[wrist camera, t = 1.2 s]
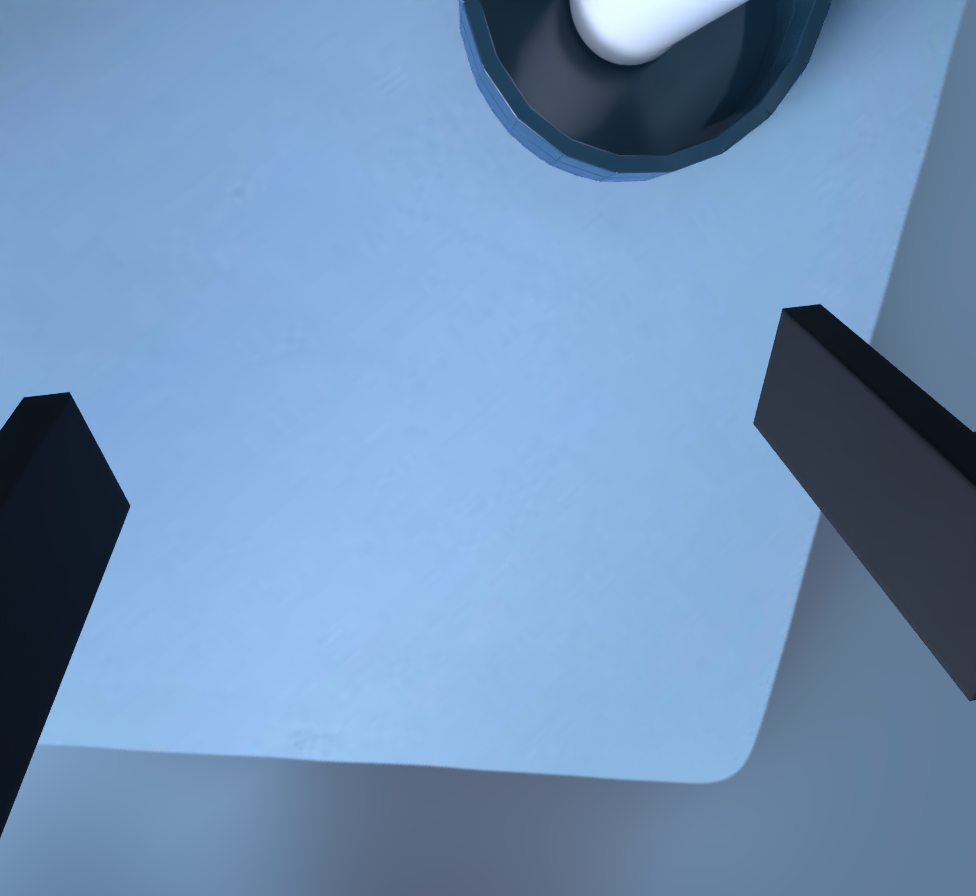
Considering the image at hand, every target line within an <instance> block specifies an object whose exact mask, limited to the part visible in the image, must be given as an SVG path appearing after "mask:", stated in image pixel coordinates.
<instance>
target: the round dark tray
mask: <svg viewBox="0 0 976 896" xmlns="http://www.w3.org/2000/svg"><path fill="white" fill-rule="evenodd" d="M830 2H831V0H750V1H748V2H746V3H745V4H743V5H741V6H739V7H738V8H736V9H734V10H732V11H731V12H729V13H727V14H725V15H724V16H722V17H720V18H718V19H717V20H715V21H713V22H711V23H710V24H708V25H706V26H705V27H703V28H701V29H700V30H698V31H696V32H694V33H693V34H691V35H689V36H688V37H686V38H684V39H683V40H681V41H680V42H678V43H677V44H676V45H674V46H673V47H672V48H671V49H670V50H668V51H667V52H666V53H665V54H663V55H662V56H660V57H658V58H656V59H654V60H652V61H650V62H647V63H644V64H639V65H630V66H628V65H619V64H615V63H611V62H609V61H606V60H604V59H602V58H601V57H599V56H598V55H596V54H595V53H594V52H593V51H592V50H590V49H589V47H588V46H587V45H586V44H585V43H584V41H583V40H582V39H581V37H580V35H579V34H578V32H577V30H576V27H575V25H574V22H573V19H572V15H571V10H570V3H569V0H459V21H460V33H461V36H462V39H463V42H464V46H465V50H466V53H467V56H468V60H469V63H470V66H471V70H472V72H473V74H474V77H475V80H476V83H477V86H478V88H479V90H480V91H481V93H482V94H483V96H484V98H485V99H486V101H487V103H488V104H489V106H490V108H491V109H492V111H493V113H494V114H495V115H496V116H497V118H498V119H499V120H500V122H501V123H502V124H503V125H504V127H505V128H506V129H507V131H508V132H509V133H510V135H512V136H513V137H514V138H516V139H517V140H518V141H519V142H520V143H521V144H522V145H523V146H524V147H525V148H527V149H528V150H529V151H531V152H532V153H533V154H535V155H536V156H537V157H539V158H540V159H542V160H544V161H545V162H547V163H548V164H549V165H552V166H554V167H556V168H558V169H561V170H564V171H566V172H569V173H571V174H574V175H577V176H581V177H585V178H589V179H592V180H595V181H598V180H599V181H614V182H621V181H646V180H650V179H653V178H656V177H659V176H662V175H665V174H668V173H671V172H674V171H676V170H679V169H682V168H684V167H687V166H690V165H693V164H695V163H698V162H701V161H703V160H706V159H709V158H712V157H714V156H717V155H720V154H722V153H723V152H725V151H727V150H728V149H729V148H731V147H732V146H733V145H734V144H736V143H737V142H738V141H740V140H741V139H742V138H743V137H745V136H746V135H747V134H749V133H750V132H751V131H752V130H754V129H755V128H756V127H757V126H759V125H760V124H761V123H763V122H764V121H765V120H766V119H768V118H769V117H770V116H771V115H772V114H773V112H774V111H775V109H776V108H777V107H778V105H779V104H780V102H781V101H782V100H783V98H784V97H785V96H786V94H787V93H788V91H789V90H790V89H791V87H792V86H793V84H794V83H795V82H796V80H797V79H798V78H799V76H800V75H801V73H802V72H803V71H804V69H805V68H806V66H807V64H808V62H809V60H810V57H811V54H812V52H813V49H814V46H815V44H816V41H817V38H818V36H819V33H820V31H821V28H822V25H823V23H824V20H825V17H826V15H827V12H828V10H829V7H830V4H831V3H830Z"/></svg>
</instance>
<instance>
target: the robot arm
mask: <svg viewBox="0 0 976 896" xmlns="http://www.w3.org/2000/svg"><path fill="white" fill-rule="evenodd" d="M753 424H754V425H755V426H756V428H757V429H758V430H759V432H760V433H761V434H762V435H763V437H764V438H765V439H766V441H767V442H768V443H769V444H770V446H771V447H772V448H773V450H774V451H775V452H776V453H777V455H778V456H779V457H780V459H781V460H782V461H783V462H784V464H785V465H786V466H787V468H788V469H789V470H790V471H791V473H792V474H793V475H794V477H795V478H796V479H797V480H798V482H799V483H800V484H801V486H802V487H803V488H804V489H805V491H806V492H807V493H808V495H809V496H810V497H811V498H812V500H813V501H814V502H815V504H816V505H817V506H818V507H819V509H820V510H821V511H822V512H823V514H824V515H825V516H826V518H827V519H828V520H829V521H830V523H831V524H832V525H833V527H834V528H835V529H836V530H837V532H838V533H839V534H840V536H841V537H842V538H843V539H844V541H845V542H846V543H847V545H848V546H849V547H850V548H851V550H852V551H853V552H854V553H855V555H856V556H857V557H858V559H859V560H860V561H861V562H862V564H863V565H864V566H865V567H866V569H867V570H868V572H869V573H870V574H871V575H872V577H873V578H874V579H875V580H876V582H877V583H878V584H879V586H880V587H881V588H882V590H883V591H884V592H885V593H886V595H887V596H888V597H889V599H890V600H891V601H892V602H893V603H894V605H895V606H896V607H897V609H898V610H899V611H900V613H901V614H902V615H903V616H904V618H905V619H906V620H907V622H908V623H909V624H910V625H911V627H912V628H913V629H914V631H915V632H916V633H917V634H918V635H919V637H920V638H921V640H922V641H923V642H924V643H925V645H926V646H927V647H928V649H929V650H930V651H931V652H932V654H933V655H934V656H935V658H936V659H937V660H938V661H939V663H940V664H941V665H942V667H943V668H944V669H945V670H946V671H947V673H948V674H949V675H950V677H951V678H952V679H953V681H954V682H955V683H956V684H957V686H958V687H959V688H960V690H961V691H962V692H963V693H964V695H965V696H966V697H967V698H968V700H969V701H972V700H976V432H972V431H971V430H970V429H969V428H968V427H966V426H965V425H964V424H963V423H962V422H960V421H959V420H958V419H957V418H956V417H954V416H953V415H952V414H951V413H950V412H949V411H947V410H946V409H945V408H944V407H942V406H941V405H940V404H939V403H938V402H936V401H935V400H934V399H933V398H932V397H931V396H929V395H928V394H927V393H926V392H925V391H923V390H922V389H921V388H920V387H919V386H917V385H916V384H915V383H914V382H913V381H911V380H910V379H909V378H908V377H907V376H905V375H904V374H903V373H902V372H901V371H899V370H898V369H897V368H896V367H895V366H893V365H892V364H891V363H890V362H889V361H888V360H886V359H885V358H884V357H883V356H881V355H880V354H879V353H878V352H877V351H876V350H874V349H873V348H872V347H871V346H870V345H868V344H867V343H866V342H865V341H864V340H862V339H861V338H860V337H859V336H858V335H857V334H855V333H854V332H853V331H852V330H851V329H849V328H848V327H847V326H846V325H845V324H843V323H842V322H841V321H840V320H839V319H837V318H836V317H835V316H834V315H833V314H831V313H830V312H829V311H828V310H827V309H825V308H824V307H823V306H822V305H821V304H818V305H809V306H801V307H792V308H784V309H782V313H781V317H780V321H779V325H778V329H777V333H776V336H775V340H774V344H773V348H772V352H771V356H770V360H769V364H768V368H767V372H766V376H765V380H764V383H763V387H762V391H761V395H760V399H759V403H758V407H757V411H756V415H755V419H754V423H753ZM129 508H130V504H129V502H128V501H127V499H126V497H125V495H124V493H123V491H122V489H121V487H120V486H119V484H118V482H117V480H116V478H115V476H114V474H113V472H112V471H111V469H110V467H109V465H108V463H107V461H106V459H105V457H104V456H103V454H102V452H101V450H100V448H99V446H98V444H97V442H96V441H95V439H94V437H93V435H92V433H91V431H90V429H89V428H88V426H87V424H86V422H85V420H84V418H83V416H82V414H81V413H80V411H79V409H78V407H77V405H76V403H75V401H74V399H73V398H72V396H71V394H70V392H67V393H58V394H49V395H41V396H32V397H24V398H23V399H22V401H21V402H20V403H19V405H18V406H17V408H16V409H15V411H14V412H13V413H12V415H11V416H10V418H9V419H8V420H7V422H6V423H5V425H4V426H3V428H2V429H1V430H0V837H1V834H2V832H3V829H4V827H5V824H6V822H7V819H8V816H9V814H10V812H11V809H12V806H13V804H14V801H15V799H16V796H17V794H18V791H19V789H20V786H21V783H22V781H23V778H24V776H25V773H26V771H27V768H28V766H29V763H30V761H31V758H32V755H33V753H34V750H35V748H36V745H37V743H38V740H39V738H40V735H41V733H42V730H43V727H44V725H45V722H46V720H47V717H48V715H49V712H50V710H51V707H52V705H53V702H54V699H55V697H56V694H57V692H58V689H59V687H60V684H61V682H62V679H63V677H64V674H65V671H66V669H67V666H68V664H69V661H70V659H71V656H72V654H73V651H74V648H75V646H76V643H77V641H78V638H79V636H80V633H81V631H82V628H83V626H84V623H85V620H86V618H87V615H88V613H89V610H90V608H91V605H92V603H93V600H94V598H95V595H96V592H97V590H98V587H99V585H100V582H101V580H102V577H103V575H104V572H105V570H106V567H107V564H108V562H109V559H110V557H111V554H112V552H113V549H114V547H115V544H116V541H117V539H118V536H119V534H120V531H121V529H122V526H123V524H124V521H125V519H126V516H127V513H128V511H129Z"/></svg>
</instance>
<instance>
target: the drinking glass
mask: <svg viewBox="0 0 976 896" xmlns="http://www.w3.org/2000/svg"><path fill="white" fill-rule="evenodd" d="M748 1H750V0H569V3H570V10H571V15H572V19H573V22H574V25H575V27H576V30H577V32H578V34H579V35H580V37H581V39H582V40H583V41H584V43H585V44H586V45H587V46H588V47H589V49H590V50H592V51H593V52H594V53H595V54H596V55H598V56H599V57H601V58H602V59H604V60H606V61H609V62H611V63H615V64H619V65H628V66H630V65H639V64H644V63H647V62H650V61H652V60H654V59H656V58H658V57H660V56H662V55H663V54H665V53H666V52H667V51H668V50H670V49H671V48H672V47H673V46H674V45H676V44H677V43H678V42H680V41H681V40H683V39H684V38H686V37H688V36H689V35H691V34H693V33H694V32H696V31H698V30H700V29H701V28H703V27H705V26H706V25H708V24H710V23H711V22H713V21H715V20H717V19H718V18H720V17H722V16H724V15H725V14H727V13H729V12H731V11H732V10H734V9H736V8H738V7H739V6H741V5H743V4H745V3H746V2H748Z"/></svg>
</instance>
